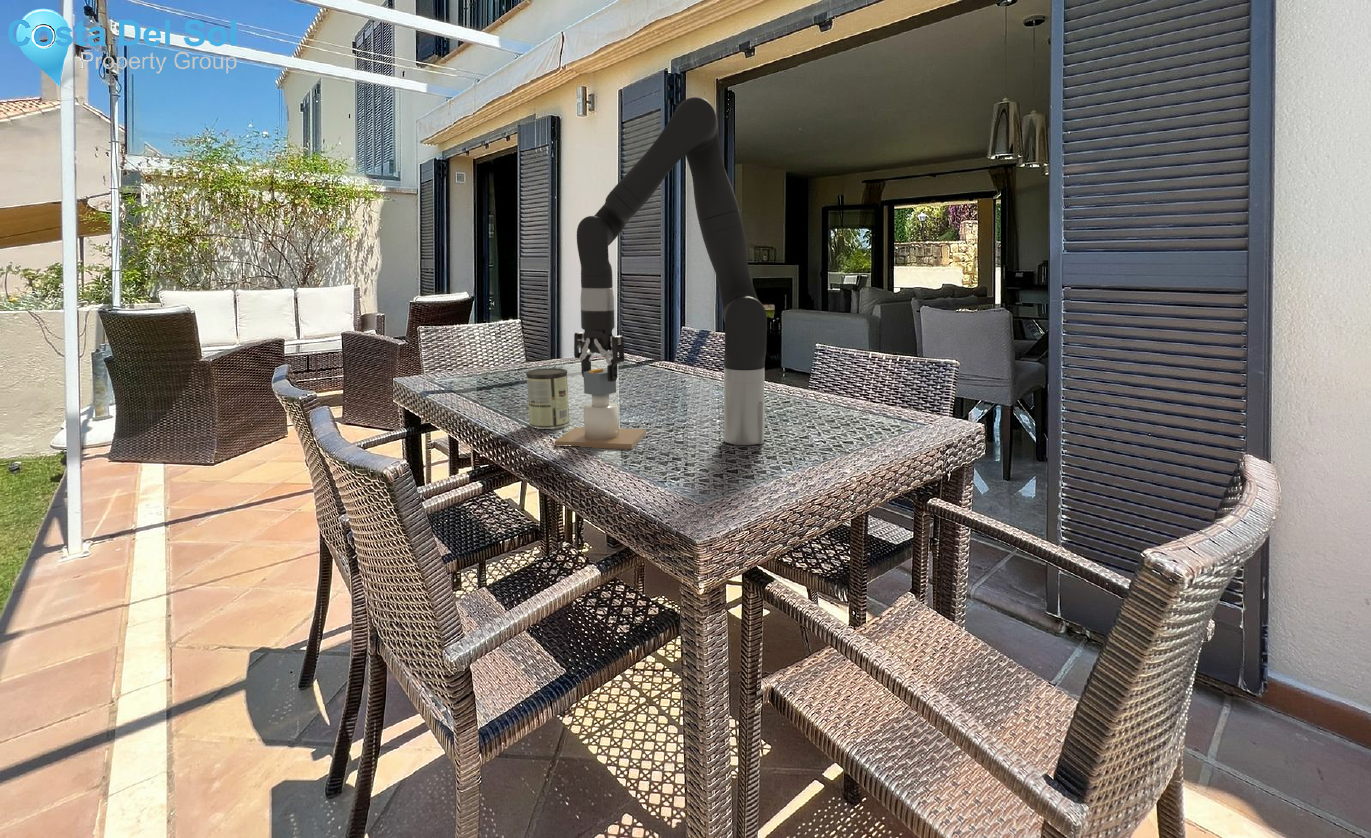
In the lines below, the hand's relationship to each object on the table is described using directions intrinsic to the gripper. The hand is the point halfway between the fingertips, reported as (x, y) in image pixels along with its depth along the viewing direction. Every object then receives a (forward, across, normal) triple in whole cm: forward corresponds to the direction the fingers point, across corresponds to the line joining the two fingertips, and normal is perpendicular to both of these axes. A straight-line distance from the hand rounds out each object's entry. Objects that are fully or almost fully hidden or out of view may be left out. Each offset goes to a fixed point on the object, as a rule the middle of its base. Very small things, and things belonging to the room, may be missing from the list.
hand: (599, 379), depth 163 cm
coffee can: (+15, +22, -2) cm, 27 cm away
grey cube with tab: (+3, 0, 0) cm, 3 cm away
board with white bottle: (+14, 0, 0) cm, 15 cm away
